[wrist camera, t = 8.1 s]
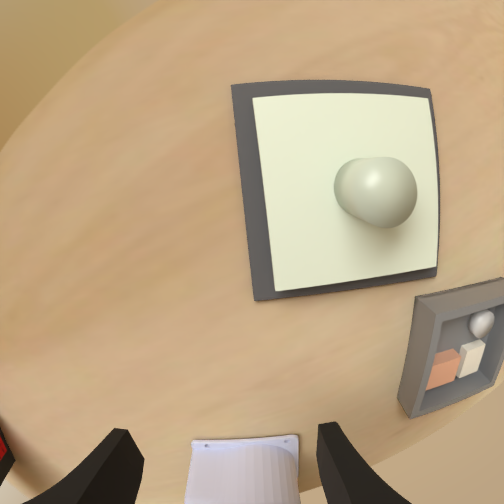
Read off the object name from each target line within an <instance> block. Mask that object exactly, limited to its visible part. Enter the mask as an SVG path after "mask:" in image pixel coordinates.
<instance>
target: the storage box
mask: <svg viewBox="0 0 504 504" xmlns="http://www.w3.org/2000/svg"><path fill="white" fill-rule="evenodd" d="M503 360H504V278H502V277H500V278H496V279H492V280H488V281H484V282H480V283H476V284H472V285H467V286H463V287H458V288H454V289H449V290H445V291H440V292H435V293H430V294H425V295H420V296H415V302H414V311H413V318H412V325H411V331H410V338H409V344H408V349H407V355H406V360H405V365H404V369H403V374H402V379H401V383H400V387H399V391H398V396H397V398H398V400H399V402H400V404H401V405H402V407H403V409H404V411H405V412H406V414H407V416H408V418H409V419H413V418H416V417H419V416H422V415H425V414H428V413H430V412H433V411H436V410H439V409H441V408H444V407H446V406H449V405H451V404H454V403H456V402H459V401H461V400H463V399H466V398H468V397H470V396H473V395H475V394H477V393H479V392H481V391H483V390H485V389H487V388H490V387H492V386H493V385H494V383H495V381H496V378H497V376H498V373H499V370H500V368H501V365H502V362H503Z"/></svg>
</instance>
